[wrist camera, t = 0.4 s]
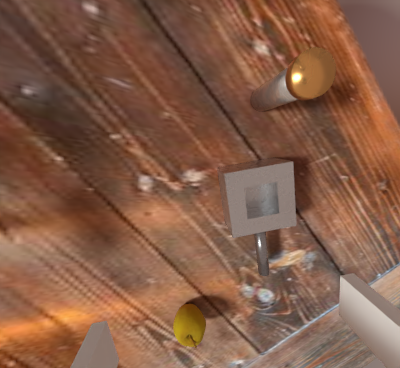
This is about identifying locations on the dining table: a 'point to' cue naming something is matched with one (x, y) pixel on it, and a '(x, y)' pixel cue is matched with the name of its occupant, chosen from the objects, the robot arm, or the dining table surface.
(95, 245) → the dining table surface
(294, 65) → the grey gold cylinder
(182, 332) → the apple
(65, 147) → the dining table surface
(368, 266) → the dining table surface
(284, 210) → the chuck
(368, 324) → the robot arm
